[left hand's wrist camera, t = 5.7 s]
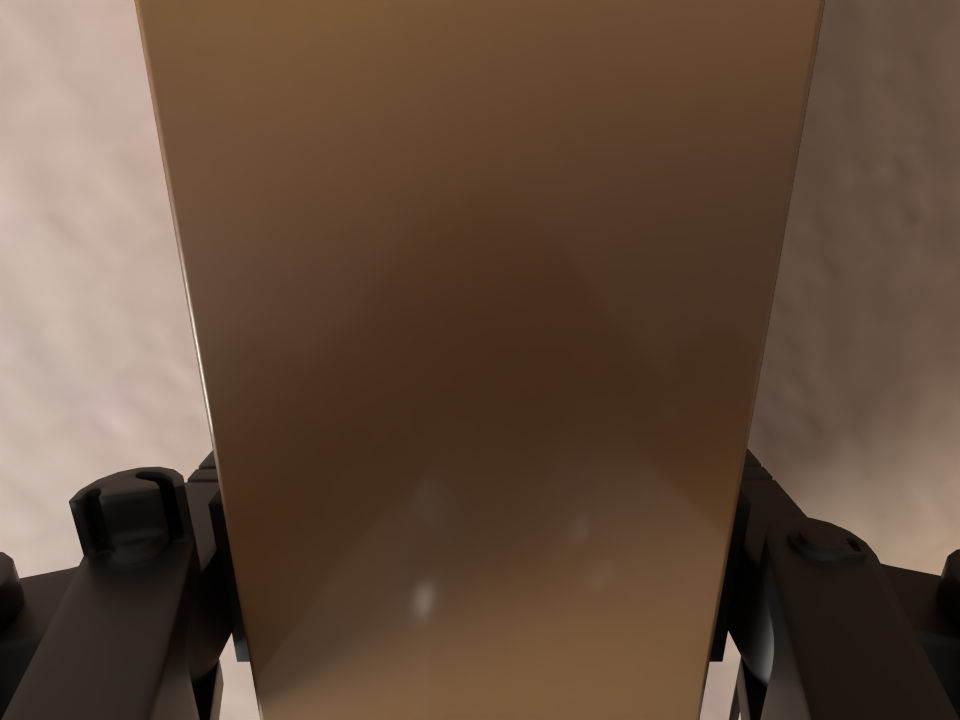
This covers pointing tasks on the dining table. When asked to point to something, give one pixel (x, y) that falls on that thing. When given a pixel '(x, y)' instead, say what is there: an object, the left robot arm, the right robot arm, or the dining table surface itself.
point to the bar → (479, 333)
